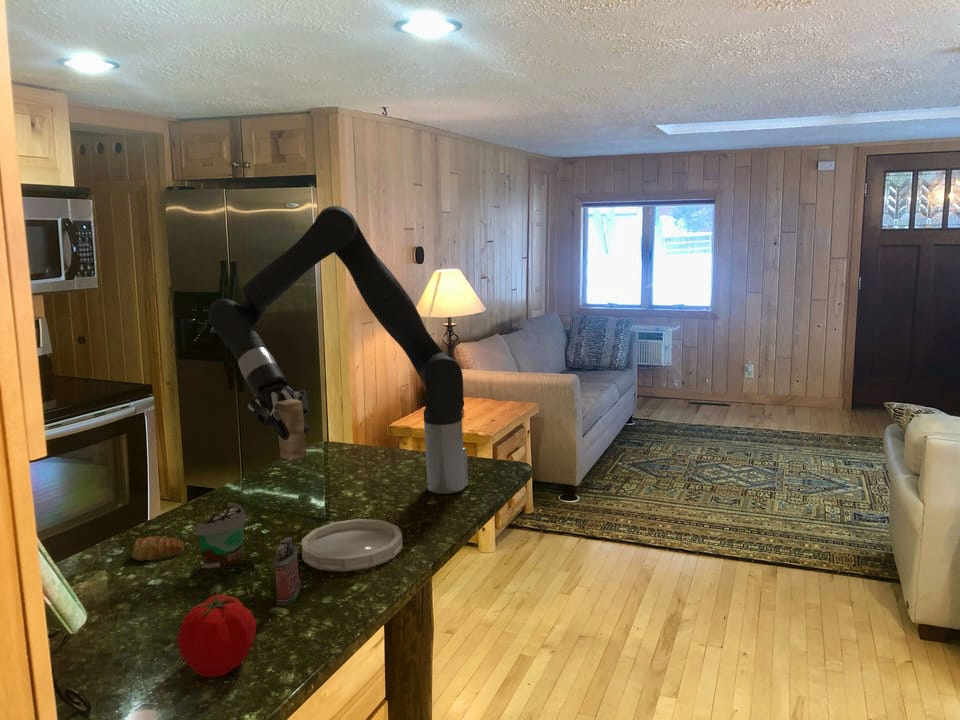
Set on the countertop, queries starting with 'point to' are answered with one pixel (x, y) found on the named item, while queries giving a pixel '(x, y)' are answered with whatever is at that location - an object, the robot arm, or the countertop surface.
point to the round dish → (351, 545)
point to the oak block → (292, 429)
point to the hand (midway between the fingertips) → (296, 434)
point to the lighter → (286, 572)
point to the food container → (222, 538)
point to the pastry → (156, 548)
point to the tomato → (216, 635)
